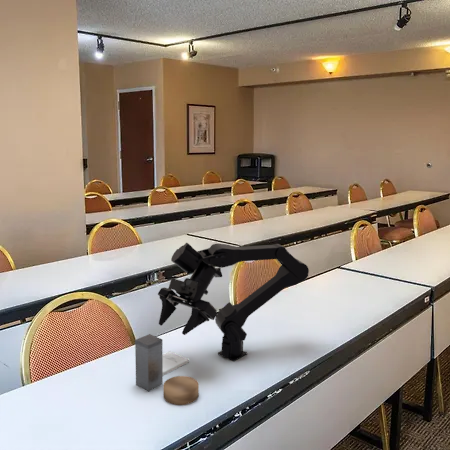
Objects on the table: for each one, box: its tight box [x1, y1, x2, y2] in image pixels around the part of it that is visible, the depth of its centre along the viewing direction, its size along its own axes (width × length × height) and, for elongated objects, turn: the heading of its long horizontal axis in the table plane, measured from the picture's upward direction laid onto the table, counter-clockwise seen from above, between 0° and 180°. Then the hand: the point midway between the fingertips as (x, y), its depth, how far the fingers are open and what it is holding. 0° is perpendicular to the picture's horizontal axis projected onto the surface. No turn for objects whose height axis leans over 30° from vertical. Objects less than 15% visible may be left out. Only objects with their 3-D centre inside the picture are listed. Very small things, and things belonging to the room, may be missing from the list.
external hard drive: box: [162, 350, 190, 377], centre depth 147 cm, size 2×8×12 cm
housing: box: [134, 333, 164, 392], centre depth 135 cm, size 5×5×13 cm
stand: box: [162, 375, 200, 406], centre depth 131 cm, size 9×9×3 cm
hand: (171, 329), depth 139 cm, fingers open, 9 cm apart
